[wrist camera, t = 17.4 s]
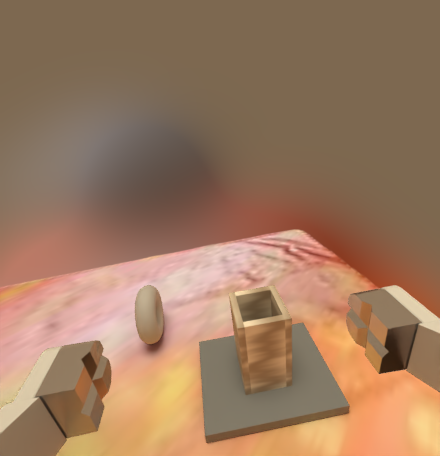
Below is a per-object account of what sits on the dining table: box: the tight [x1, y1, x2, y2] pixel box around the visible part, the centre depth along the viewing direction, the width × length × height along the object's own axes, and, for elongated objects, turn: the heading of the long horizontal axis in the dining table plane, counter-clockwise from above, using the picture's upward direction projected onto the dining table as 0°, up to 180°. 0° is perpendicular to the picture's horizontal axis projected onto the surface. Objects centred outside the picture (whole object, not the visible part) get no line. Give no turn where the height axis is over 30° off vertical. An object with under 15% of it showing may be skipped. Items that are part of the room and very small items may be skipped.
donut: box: [135, 285, 164, 344], centre depth 46 cm, size 10×4×10 cm, turn 8°
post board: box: [199, 323, 349, 443], centre depth 37 cm, size 18×14×10 cm
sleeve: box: [229, 285, 292, 395], centre depth 35 cm, size 6×6×12 cm
